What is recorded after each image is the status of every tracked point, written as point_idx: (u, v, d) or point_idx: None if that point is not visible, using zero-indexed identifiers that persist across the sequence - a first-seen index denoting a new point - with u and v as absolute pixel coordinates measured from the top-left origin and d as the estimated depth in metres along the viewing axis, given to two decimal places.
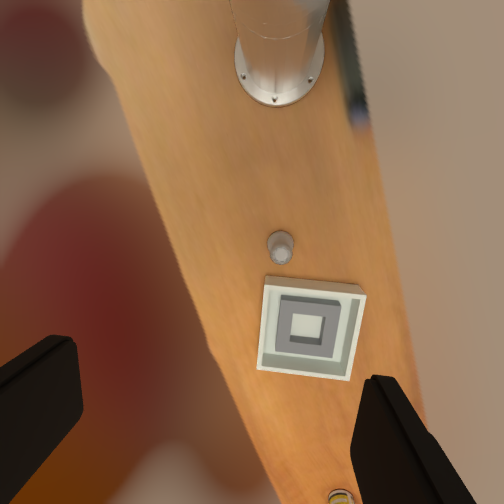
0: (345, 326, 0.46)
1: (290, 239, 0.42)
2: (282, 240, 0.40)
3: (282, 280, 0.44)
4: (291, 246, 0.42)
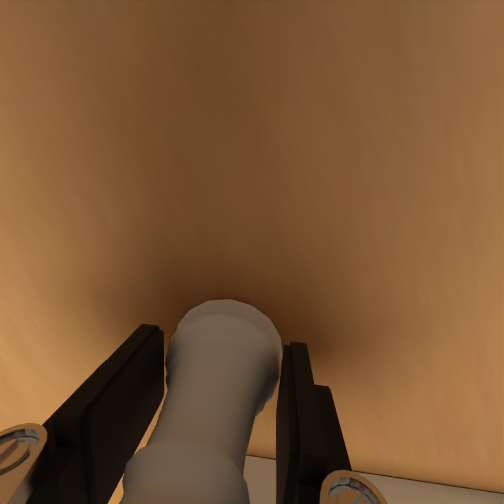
0: None
1: (265, 349, 0.09)
2: (213, 382, 0.07)
3: None
4: (270, 383, 0.09)
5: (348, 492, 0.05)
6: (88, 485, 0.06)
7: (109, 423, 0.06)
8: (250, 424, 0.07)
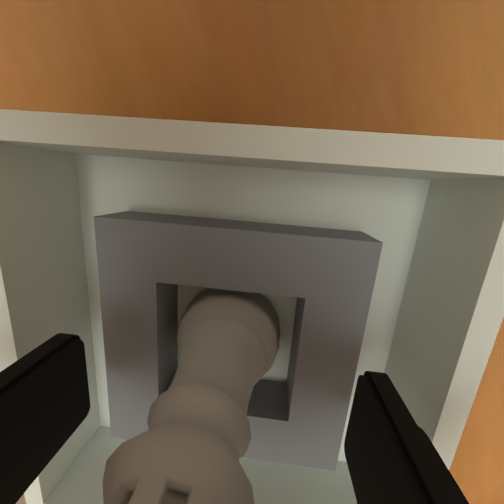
0: (386, 339, 0.12)
1: (265, 324, 0.10)
2: (220, 347, 0.08)
3: None
4: (269, 355, 0.10)
5: None
6: None
7: None
8: (251, 383, 0.08)
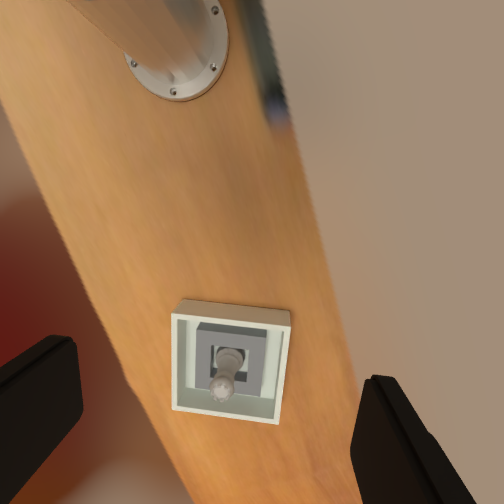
0: (277, 358, 0.39)
1: (239, 355, 0.38)
2: (228, 362, 0.36)
3: (199, 306, 0.37)
4: (240, 363, 0.38)
5: None
6: None
7: None
8: (235, 371, 0.36)
